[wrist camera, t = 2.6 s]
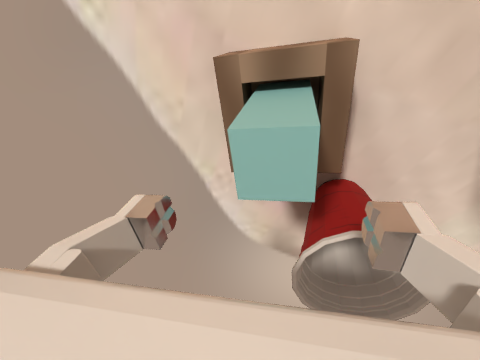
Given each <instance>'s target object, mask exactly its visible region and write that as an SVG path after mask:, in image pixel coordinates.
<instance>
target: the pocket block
mask: <svg viewBox="0 0 480 360" xmlns="http://www.w3.org/2000/svg"><path fill="white" fill-rule="evenodd" d="M359 41H360V39H353V38H339V39H331V40H323V41H315V42H307V43H299V44H291V45H284V46H276V47H268V48H260V49H252V50H244V51H236V52H229V53H226V54H223V55H220V56H217V57H213V60H214V66H215V72H216V79H217V85H218V91H219V97H220V103H221V110H222V116H223V122H224V128H225V135H226V141H227V147H228V153H229V159H230V166H231V172H234V170H233V163H232V157H231V150H230V144H229V137H228V131H227V129H228V128H229V126H230V125H231V124H232V122H233V121H234V119H235V118H236V117H237V115H238V114H239V112H240V111H241V110H242V108H243V107H244V105H245V104H246V103H247V101H248V100H249V99H250V97H251V96H252V94H253V93H254V92H255V90H256V89H257V87H258V86H259V85H260V84H265V83H276V82H287V81H299V80H310V83H311V87H312V92H313V96H314V100H315V105H316V109H317V114H318V118H319V122H320V136H319V150H318V164H317V173H341V169H342V162H343V155H344V148H345V141H346V133H347V126H348V119H349V112H350V105H351V98H352V91H353V84H354V76H355V69H356V62H357V55H358V48H359Z"/></svg>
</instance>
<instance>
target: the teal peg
mask: <svg viewBox="0 0 480 360" xmlns="http://www.w3.org/2000/svg"><path fill="white" fill-rule="evenodd" d="M227 131H228V137H229V144H230V150H231V157H232V163H233V170H234V176H235V183H236V189H237V195H238V199H243V200H269V201H295V202H315V191H316V177H317V164H318V150H319V136H320V122H319V118H318V114H317V109H316V105H315V100H314V96H313V92H312V87H311V83H310V80H299V81H287V82H276V83H265V84H260V85H259V86H258V87H257V89H256V90H255V92H254V93H253V94H252V96H251V97H250V99H249V100H248V101H247V103H246V104H245V105H244V107H243V108H242V110H241V111H240V112H239V114H238V115H237V117H236V118H235V119H234V121H233V122H232V124H231V125H230V126H229V128H228V129H227Z"/></svg>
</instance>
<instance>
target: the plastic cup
mask: <svg viewBox="0 0 480 360" xmlns="http://www.w3.org/2000/svg"><path fill="white" fill-rule="evenodd" d="M368 201H372V200H371V199H370V198H369V196H368V195H367V194H366V192H365V191H364V190H363V189H362V188H361V187H359V186H358V185H357V184H356V183H355V182H352V181H349V180H345V179H335V180H332V181H329V182H325V183H324V184H323V185H321V186H320V187H319V188H318V189H317V191H316V192H315V202H312V205H311V209H310V211H309V216H308V222H307V227H306V232H305V238H304V243H303V246H302V249H301V253H300V255H299V259H298V260H297V262H296V264H295V266H294V267H293V270H292V288H293V290H294V291H295V293H296V294H297V296H298V297H299V299H300V300H301V302H302V303H303V304H304V305H306V306H307V307H309V308H310V309H314V310H322V311H329V312H337V313H344V314H352V315H359V316H367V317H374V318H382V319H389V320H398V319H401V318H404V317H407V316H410V315H412V314H415V313H417V312H419V311H420V310H421V309H422V308H424V307H425V306H426V305H428V304H429V303H430V301H429V300H428V299H426V298H425V297H424V296H423V295H422V294H421V293H420V292H419V291H418V290H417V289H416V288H415V287H414V286H413V285H412V284H411V283H410V282H409V281H408V280H407V279H406V278H405V277H404V276H403V275H402V274H401V272H395V271H386V270H377V269H373V268H372V265H371V262H370V259H369V256H368V250H369V247H368V246H367V245H365V244H364V241H363V238H362V221H363V219H364V218H365V217H366V216H367V214H366V211H365V208H366V204H367V202H368Z"/></svg>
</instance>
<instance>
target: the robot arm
mask: <svg viewBox="0 0 480 360" xmlns="http://www.w3.org/2000/svg"><path fill="white" fill-rule="evenodd" d="M171 204H172V202H171V200H170V197H168V196H165V195H164V196H163V195H141V194H140V195H139V194H138V195H135V196H134V197H133V198H132V199H131V200H130V201H129V202H128V203H127V204H126V205H125V206H124V207H123V208H122V209H121V210H120V211H119V212H118V213H117V214H116V215H115V216H114V217H109V218H107V219H105V220H103V221H101V222H99V223H97V224H95V225H93V226H91V227H89V228H86V229H85V230H82V231H80V232H78V233H76V234H74V235H72V236H70V237H68V238H66V239H64V240H62V241H60V242H58V243H56V244H54V245H52V246H50V247H49V248H48V249H47V250H46V251H45V252H44V253H42V254H41V255H40V256H39V257H38V258H37V259H35V260H34V261H33V262H32V263H31V264H30V265H29V266H28V267H26V268H25V269H24V270H17V269H9V268H2V267H0V360H480V253H479V252H477V251H475V250H473V249H471V248H470V247H468V246H466V245H464V244H463V243H461V242H459V241H457V240H455V239H454V238H452V237H450V236H448V235H442V234H441V232H440V231H439V230H438V228H437V227H436V226H435V224H434V223H433V222H432V220H431V219H430V218H429V216H428V215H427V214H426V212H425V211H424V210H423V208H422V207H421V206H420V204H419V203H417V202H376V201H368V202H367V204H366V208H365V211H366V214H367V216H366V217H365V218H364V219H363V221H362V238H363V241H364V244H365V245H367V246H368V247H369V250H368V256H369V259H370V262H371V265H372V268H373V269H377V270H386V271H395V272H401V274H402V275H403V276H404V277H405V278H406V279H407V280H408V281H409V282H410V283H411V284H412V285H413V286H414V287H415V288H416V289H417V290H418V291H419V292H420V293H421V294H422V295H423V296H424V297H425V298H426V299H428V300H429V301H430V302H431V303H432V304H433V305H434V306H435V307H436V308H437V309H438V310H439V311H440V312H441V313H442V314H443V315H444V316H445V317H446V318H447V319H448V320H450V322H451V323H452V325H451V327H450V328H448V327H441V326H434V325H425V324H419V323H411V322H404V321H396V320H389V319H382V318H374V317H367V316H359V315H352V314H344V313H337V312H329V311H322V310H314V309H307V308H299V307H291V306H284V305H277V304H269V303H261V302H254V301H247V300H239V299H232V298H225V297H217V296H210V295H203V294H194V293H188V292H181V291H173V290H166V289H158V288H151V287H143V286H136V285H128V284H121V283H114V282H106V281H104V280H105V279H106V278H107V277H109V276H110V275H111V274H113V273H114V272H115V271H116V270H118V269H119V268H120V267H122V266H123V265H124V264H125V263H127V262H128V261H129V260H131V259H132V258H133V257H135V256H136V255H137V254H138V253H140V252H141V251H142V250H143V249H156V250H160V249H161V248H162V246H163V245H164V243H165V242H166V240H167V234H168V233H170V232H171V231H172V230H173V229H174V227H175V224H176V214H175V211H174V210H173V209H172V208H171V207H170V206H171Z"/></svg>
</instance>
